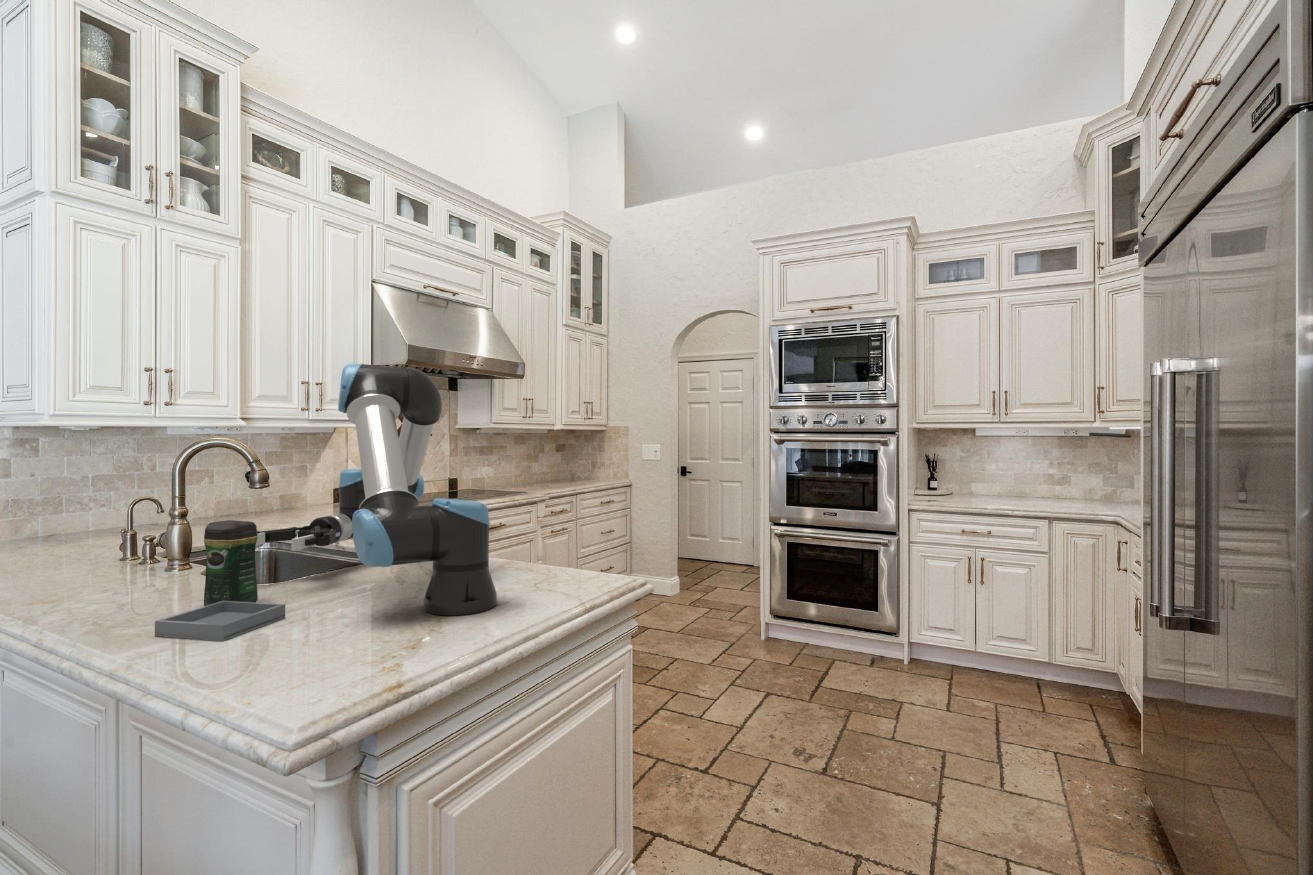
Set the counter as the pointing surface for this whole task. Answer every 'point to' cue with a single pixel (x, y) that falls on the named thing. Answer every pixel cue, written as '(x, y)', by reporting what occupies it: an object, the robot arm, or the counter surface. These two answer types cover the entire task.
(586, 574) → the counter surface
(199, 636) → the holder
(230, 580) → the coffee jar
